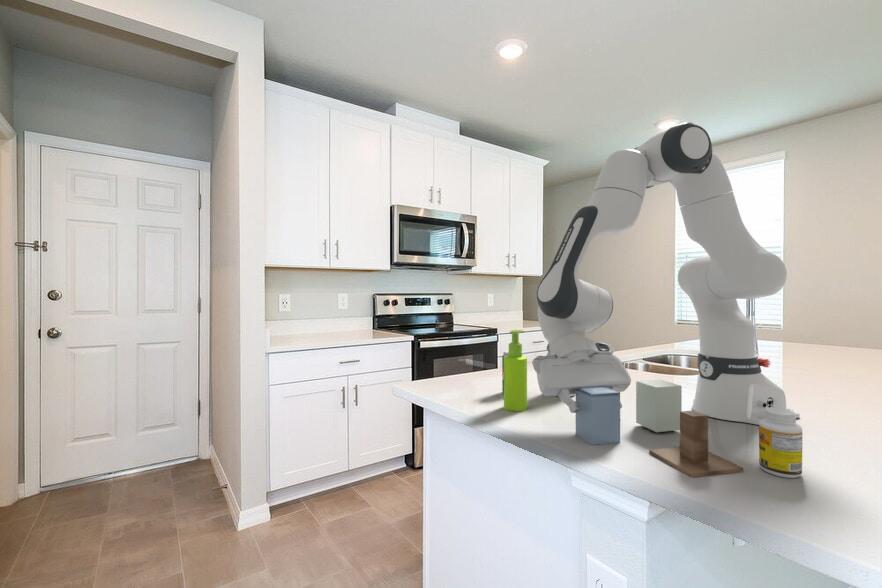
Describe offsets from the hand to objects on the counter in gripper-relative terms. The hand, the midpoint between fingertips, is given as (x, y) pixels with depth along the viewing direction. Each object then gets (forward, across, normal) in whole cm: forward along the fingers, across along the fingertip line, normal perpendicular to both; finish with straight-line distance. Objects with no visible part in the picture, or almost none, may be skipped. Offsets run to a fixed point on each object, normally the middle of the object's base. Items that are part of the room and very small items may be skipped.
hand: (597, 410), depth 84 cm
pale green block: (+2, +16, +6) cm, 17 cm away
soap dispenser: (-13, -8, +21) cm, 26 cm away
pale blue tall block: (+4, 0, +4) cm, 6 cm away
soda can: (-23, -4, +31) cm, 39 cm away
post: (+14, +10, -6) cm, 18 cm away
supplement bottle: (+18, +21, -10) cm, 30 cm away
